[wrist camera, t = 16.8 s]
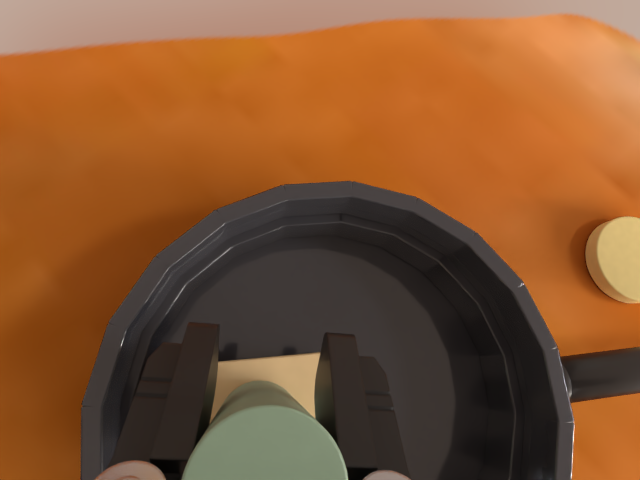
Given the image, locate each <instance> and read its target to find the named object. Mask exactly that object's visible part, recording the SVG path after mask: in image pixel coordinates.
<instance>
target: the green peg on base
mask: <svg viewBox="0 0 640 480" xmlns="http://www.w3.org/2000/svg"><path fill="white" fill-rule="evenodd" d="M319 357H320V352H315V353H305V354H294V355H283V356H272V357H261V358H251V359H240V360H229V361H218V372H217V382H216V390H215V396H214V402H213V407H212V413H211V419H210V425H209V426H208V428H207V429H206V431H205V433H204V434H203V436H202V437H201V439H200V441H199V442H198V444H197V445H196V447H195V449H194V450H193V452H192V454H191V456H190V457H189V460H188V462H187V465H186V467H185V469H184V473H183V476H182V480H348V474H347V469H346V465H345V462H344V459H343V456H342V454H341V452H340V449H339V448H338V446H337V444H336V442H335V441H334V439H333V438H332V436H331V435H330V434H329V432H328V431H327V430H326V429H325V428H324V427H323V426H322V425H321V424H320V423H319V422H318V421H317V420H316V419H315V405H314V389H315V378H316V372H317V367H318V362H319Z"/></svg>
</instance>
